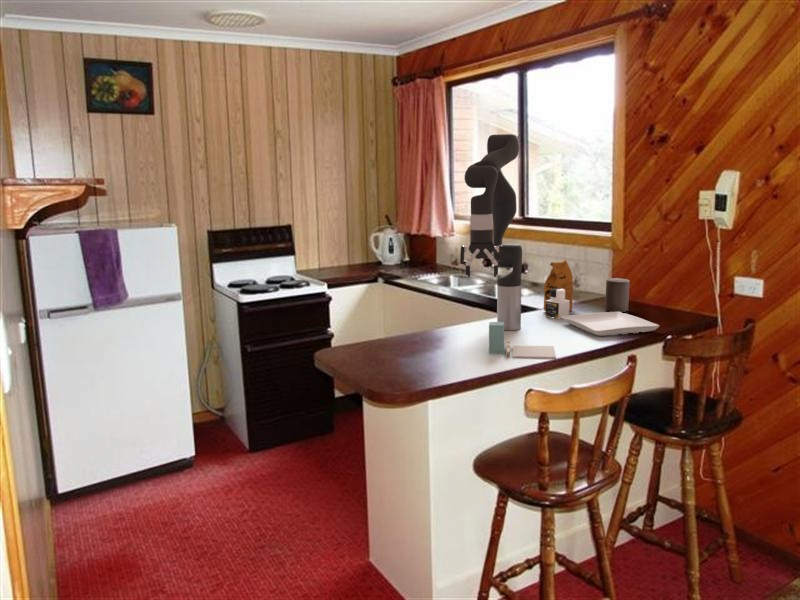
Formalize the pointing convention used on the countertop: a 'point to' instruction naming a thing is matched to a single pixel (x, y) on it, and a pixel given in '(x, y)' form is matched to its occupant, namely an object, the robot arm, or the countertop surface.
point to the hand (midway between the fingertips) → (481, 276)
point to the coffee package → (559, 281)
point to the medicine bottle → (557, 304)
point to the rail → (508, 349)
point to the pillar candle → (617, 295)
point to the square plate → (610, 323)
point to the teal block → (496, 337)
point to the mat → (533, 352)
